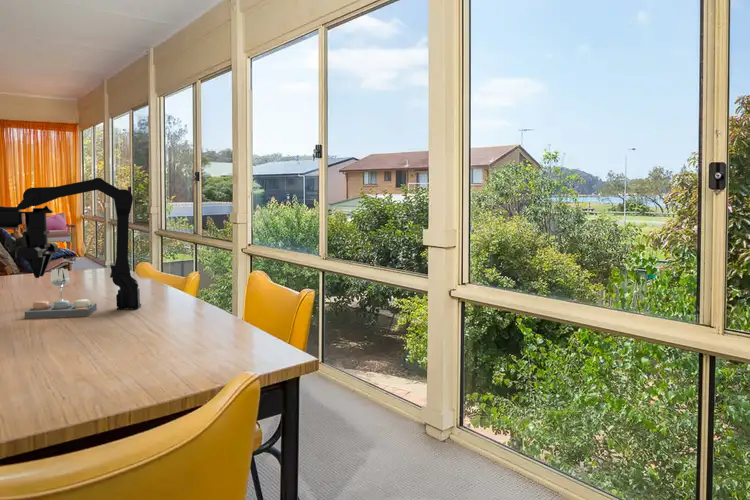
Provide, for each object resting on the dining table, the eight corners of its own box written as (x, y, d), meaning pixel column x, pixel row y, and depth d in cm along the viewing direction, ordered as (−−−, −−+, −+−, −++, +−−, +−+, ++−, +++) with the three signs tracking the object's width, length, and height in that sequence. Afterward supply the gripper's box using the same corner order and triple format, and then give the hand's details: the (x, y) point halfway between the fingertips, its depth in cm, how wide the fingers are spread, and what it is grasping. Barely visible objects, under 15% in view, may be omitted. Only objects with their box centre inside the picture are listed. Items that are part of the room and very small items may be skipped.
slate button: (71, 307, 184) (71, 299, 183) (67, 310, 179) (66, 302, 179) (56, 308, 183) (56, 300, 183) (51, 311, 179) (51, 303, 178)
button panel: (96, 309, 188) (96, 302, 188) (87, 316, 178) (87, 308, 178) (37, 311, 184) (36, 304, 184) (24, 318, 175) (24, 311, 174)
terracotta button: (51, 308, 183) (50, 300, 182) (46, 311, 178) (45, 303, 178) (36, 309, 182) (35, 301, 181) (30, 311, 177) (30, 303, 177)
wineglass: (56, 305, 195) (54, 270, 193) (49, 303, 198) (47, 269, 197) (73, 302, 199) (72, 268, 198) (66, 300, 203) (64, 267, 201)
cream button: (91, 307, 185) (91, 299, 185) (87, 309, 181) (87, 301, 180) (76, 307, 184) (76, 299, 184) (72, 310, 180) (72, 302, 180)
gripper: (20, 226, 185) (22, 273, 186) (-6, 230, 166) (-3, 282, 168) (57, 225, 187) (59, 272, 189) (35, 229, 169) (38, 281, 170)
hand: (39, 277), depth 179 cm, fingers open, 3 cm apart
